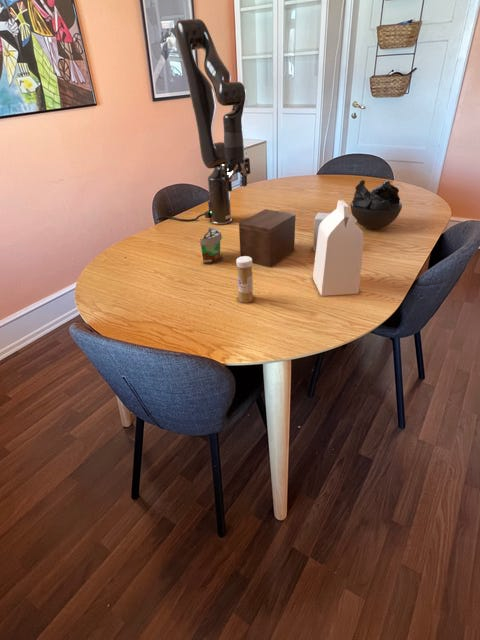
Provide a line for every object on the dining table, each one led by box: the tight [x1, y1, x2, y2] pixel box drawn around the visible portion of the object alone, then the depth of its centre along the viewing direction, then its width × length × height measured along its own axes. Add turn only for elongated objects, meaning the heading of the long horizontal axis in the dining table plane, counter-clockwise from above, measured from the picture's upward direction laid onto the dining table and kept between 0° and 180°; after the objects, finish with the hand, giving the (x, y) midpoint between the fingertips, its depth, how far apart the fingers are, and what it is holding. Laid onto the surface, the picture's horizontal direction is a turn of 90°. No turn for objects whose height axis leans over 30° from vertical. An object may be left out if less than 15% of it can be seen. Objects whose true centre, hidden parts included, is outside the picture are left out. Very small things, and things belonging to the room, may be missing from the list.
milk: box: [312, 199, 365, 297], centre depth 114 cm, size 12×12×26 cm
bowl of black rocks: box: [350, 179, 403, 230], centre depth 156 cm, size 20×20×19 cm
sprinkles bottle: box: [235, 256, 254, 303], centre depth 113 cm, size 5×5×13 cm
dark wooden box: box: [238, 208, 296, 268], centre depth 139 cm, size 13×17×14 cm
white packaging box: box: [312, 212, 332, 252], centre depth 142 cm, size 7×7×13 cm
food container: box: [199, 227, 223, 265], centre depth 139 cm, size 12×6×10 cm, turn 168°
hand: (236, 188), depth 152 cm, fingers open, 8 cm apart
